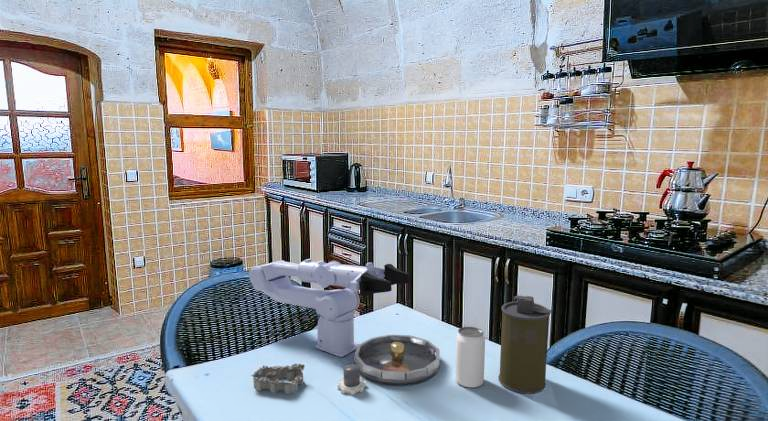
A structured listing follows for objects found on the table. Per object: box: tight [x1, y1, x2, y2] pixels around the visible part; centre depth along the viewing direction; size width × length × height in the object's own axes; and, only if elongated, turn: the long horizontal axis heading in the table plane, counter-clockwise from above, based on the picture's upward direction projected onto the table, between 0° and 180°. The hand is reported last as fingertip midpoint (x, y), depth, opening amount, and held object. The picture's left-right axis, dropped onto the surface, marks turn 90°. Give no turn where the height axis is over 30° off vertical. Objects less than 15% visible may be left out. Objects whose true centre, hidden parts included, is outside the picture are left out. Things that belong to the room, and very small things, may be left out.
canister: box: [498, 295, 553, 395], centre depth 104 cm, size 11×10×20 cm
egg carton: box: [250, 363, 305, 395], centre depth 104 cm, size 11×8×4 cm
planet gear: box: [337, 363, 367, 396], centre depth 103 cm, size 6×6×4 cm
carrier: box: [353, 334, 441, 387], centre depth 113 cm, size 21×21×5 cm
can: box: [454, 326, 486, 389], centre depth 104 cm, size 6×6×12 cm
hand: (400, 282), depth 108 cm, fingers open, 7 cm apart
